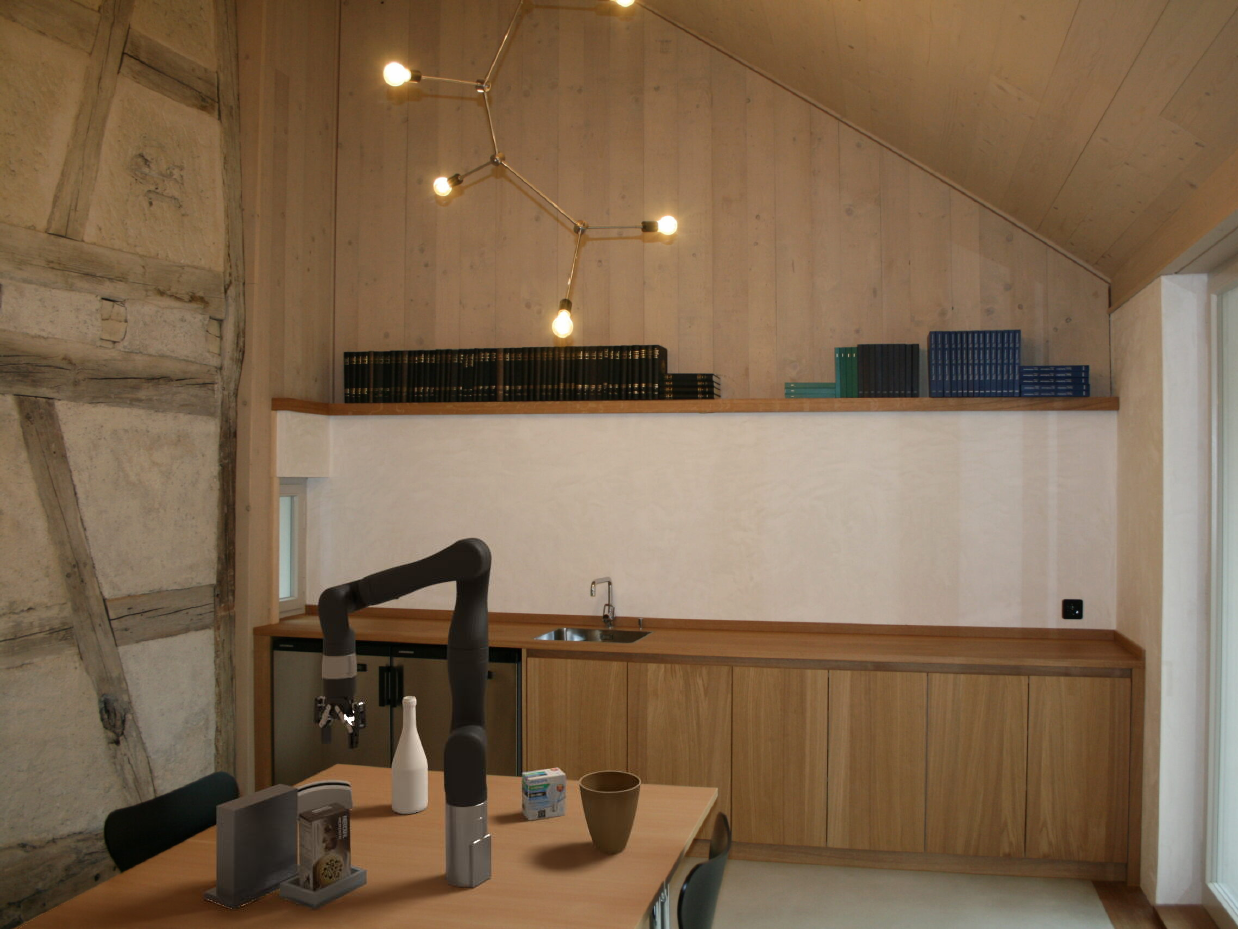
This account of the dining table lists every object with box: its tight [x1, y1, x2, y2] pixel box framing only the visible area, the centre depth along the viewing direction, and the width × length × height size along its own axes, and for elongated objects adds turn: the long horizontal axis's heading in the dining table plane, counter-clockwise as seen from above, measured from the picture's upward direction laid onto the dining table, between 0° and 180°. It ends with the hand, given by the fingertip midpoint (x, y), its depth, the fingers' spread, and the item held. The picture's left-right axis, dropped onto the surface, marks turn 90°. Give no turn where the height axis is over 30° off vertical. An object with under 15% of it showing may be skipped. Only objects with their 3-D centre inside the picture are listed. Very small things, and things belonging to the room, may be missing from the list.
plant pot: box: [578, 770, 642, 854], centre depth 211 cm, size 15×15×16 cm
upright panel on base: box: [203, 783, 299, 910], centre depth 192 cm, size 10×19×20 cm, turn 149°
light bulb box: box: [521, 767, 567, 821], centre depth 233 cm, size 11×7×11 cm, turn 114°
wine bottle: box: [391, 695, 429, 815], centre depth 238 cm, size 10×10×30 cm
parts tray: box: [279, 864, 368, 911], centre depth 189 cm, size 11×14×3 cm
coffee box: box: [298, 803, 352, 892], centre depth 189 cm, size 9×6×16 cm
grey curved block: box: [296, 779, 354, 819], centre depth 235 cm, size 17×5×10 cm, turn 114°
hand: (339, 745), depth 198 cm, fingers open, 8 cm apart
